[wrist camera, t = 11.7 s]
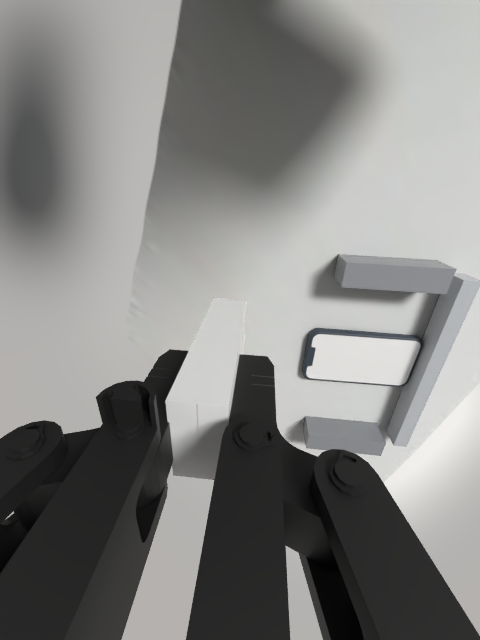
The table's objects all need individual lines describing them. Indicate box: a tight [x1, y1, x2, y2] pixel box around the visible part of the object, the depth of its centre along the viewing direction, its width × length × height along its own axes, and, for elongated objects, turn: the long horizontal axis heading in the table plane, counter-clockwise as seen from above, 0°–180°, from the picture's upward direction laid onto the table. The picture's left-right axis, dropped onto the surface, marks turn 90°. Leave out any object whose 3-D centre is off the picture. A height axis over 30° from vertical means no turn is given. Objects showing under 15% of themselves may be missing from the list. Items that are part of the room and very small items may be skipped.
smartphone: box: [302, 328, 423, 386], centre depth 41 cm, size 9×2×16 cm
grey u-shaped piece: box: [303, 254, 480, 456], centre depth 39 cm, size 31×16×4 cm, turn 178°
